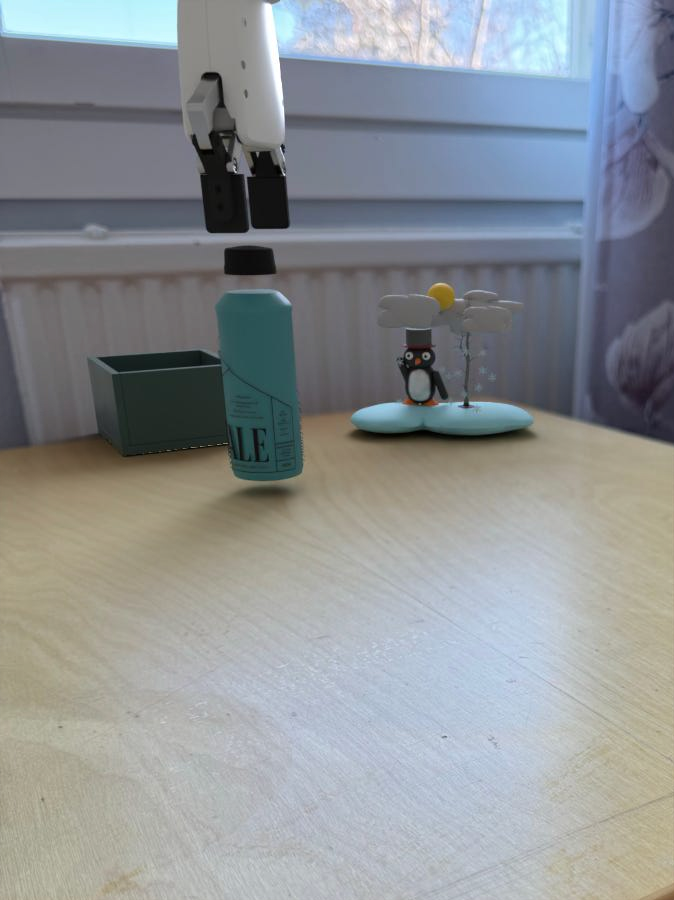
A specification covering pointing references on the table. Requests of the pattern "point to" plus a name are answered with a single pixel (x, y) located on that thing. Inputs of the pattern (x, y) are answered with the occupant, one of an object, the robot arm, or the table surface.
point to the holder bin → (159, 400)
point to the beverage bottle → (259, 373)
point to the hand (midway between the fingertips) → (250, 230)
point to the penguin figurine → (423, 380)
